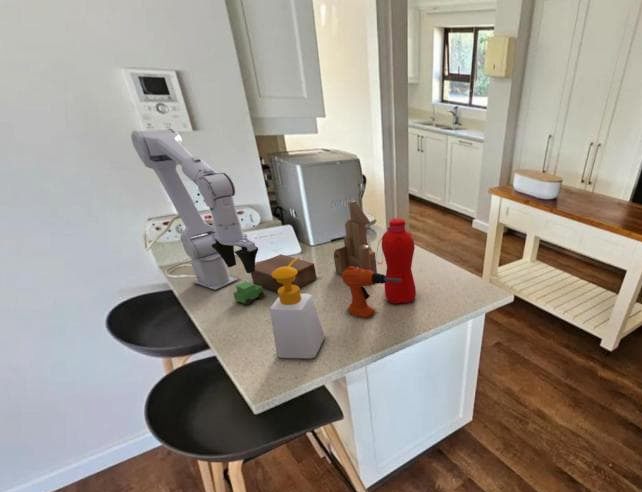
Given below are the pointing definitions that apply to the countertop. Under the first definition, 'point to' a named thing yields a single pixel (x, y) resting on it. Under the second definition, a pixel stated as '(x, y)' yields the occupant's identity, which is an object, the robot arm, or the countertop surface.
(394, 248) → the water bottle
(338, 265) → the wooden toy
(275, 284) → the wooden box
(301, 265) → the lid
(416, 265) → the countertop surface
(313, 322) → the soap bottle
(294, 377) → the countertop surface
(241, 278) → the countertop surface
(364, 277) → the toy drill
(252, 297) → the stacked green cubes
